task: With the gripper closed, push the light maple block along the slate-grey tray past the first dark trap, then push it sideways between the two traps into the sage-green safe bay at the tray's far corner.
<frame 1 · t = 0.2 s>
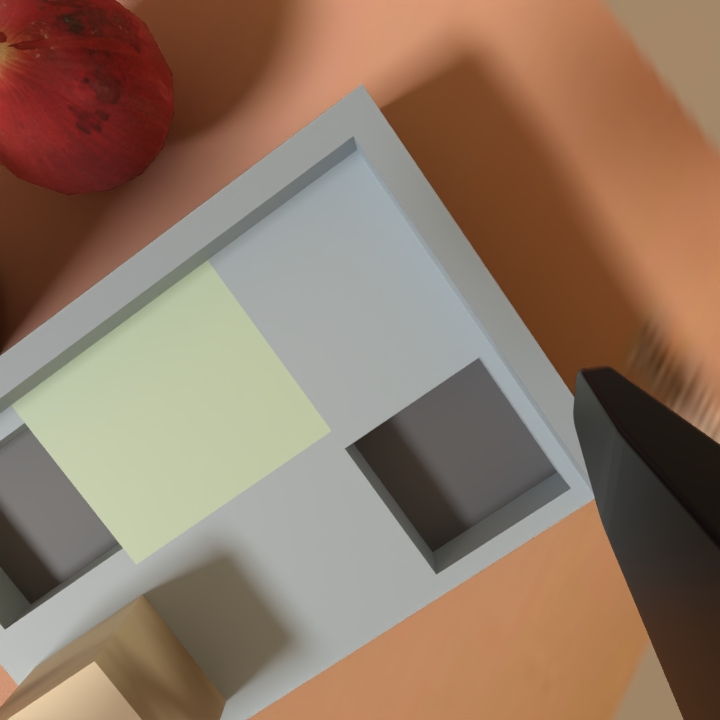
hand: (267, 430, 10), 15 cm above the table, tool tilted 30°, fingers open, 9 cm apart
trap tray: (238, 484, 25), on the table
onion: (121, 118, 24), on the table
maple block: (130, 683, 24), point 2 cm above the table, touching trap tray
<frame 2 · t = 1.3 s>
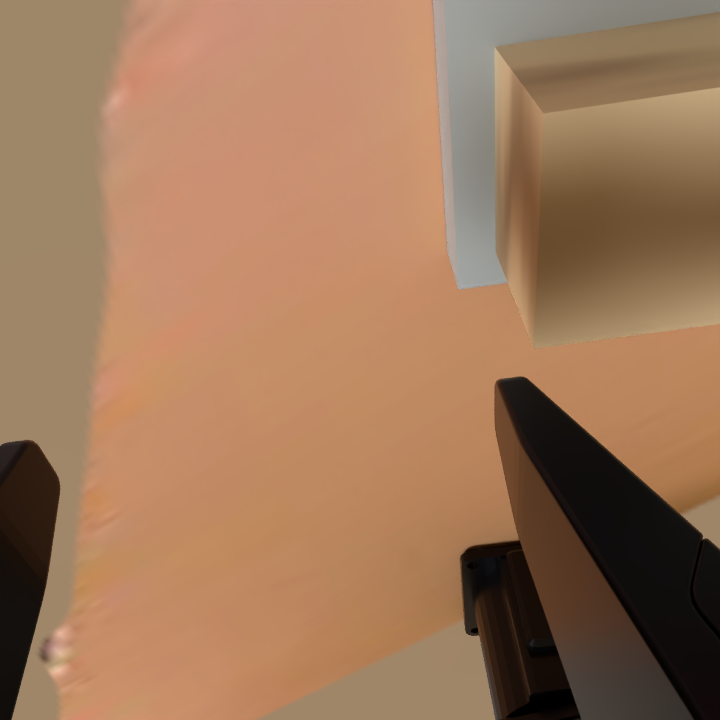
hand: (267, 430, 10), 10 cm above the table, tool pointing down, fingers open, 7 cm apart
maple block: (602, 144, 16), point 2 cm above the table, touching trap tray
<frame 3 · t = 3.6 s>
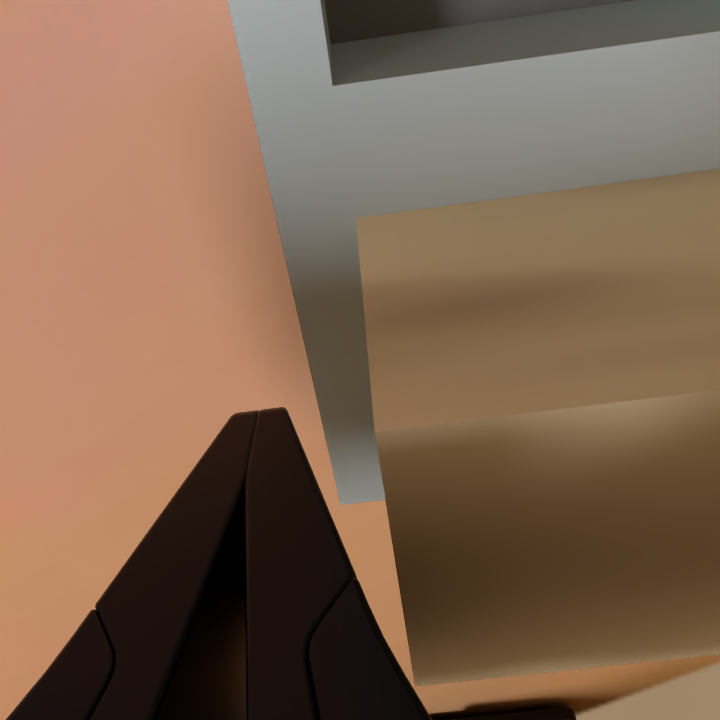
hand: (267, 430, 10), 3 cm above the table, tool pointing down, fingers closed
maple block: (534, 339, 10), point 2 cm above the table, touching gripper
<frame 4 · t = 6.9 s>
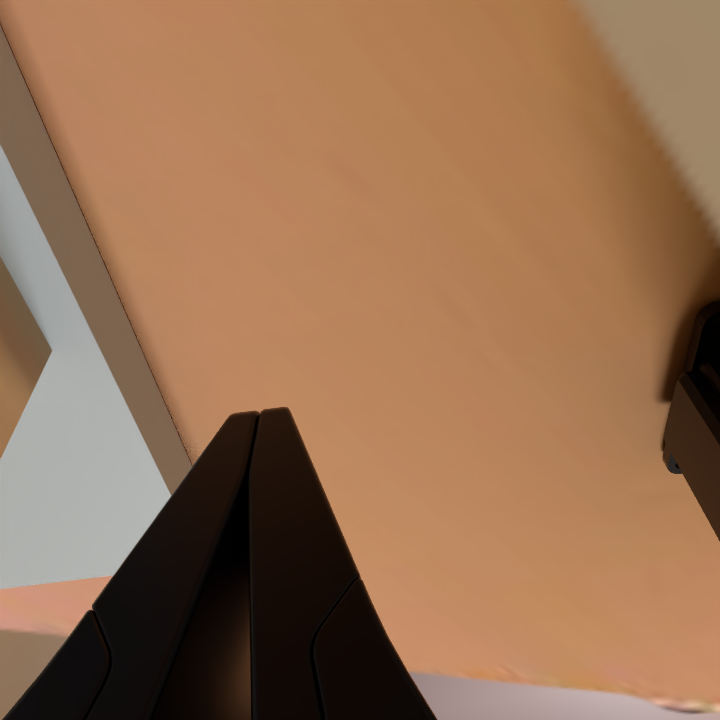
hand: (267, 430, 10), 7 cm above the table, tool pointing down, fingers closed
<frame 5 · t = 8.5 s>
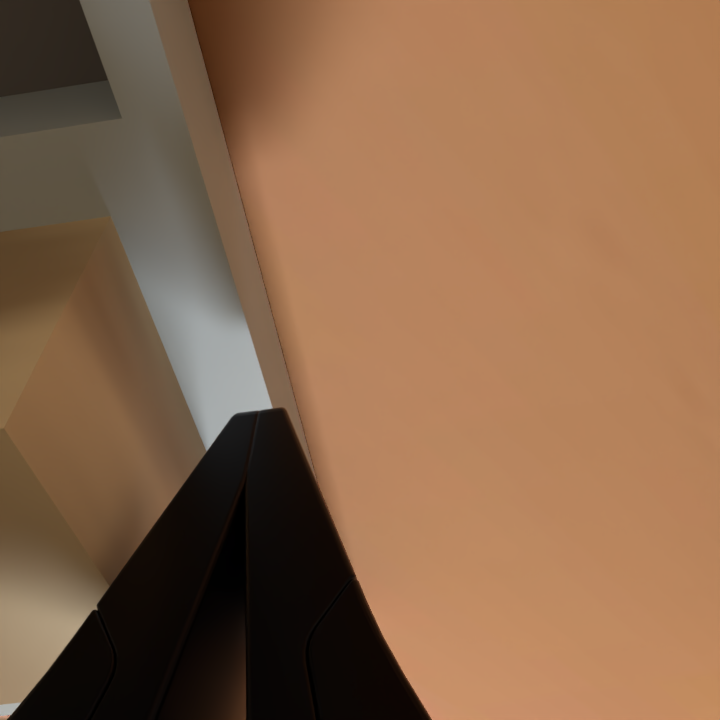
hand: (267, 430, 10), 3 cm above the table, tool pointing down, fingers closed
maple block: (15, 378, 11), point 2 cm above the table, touching gripper, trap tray
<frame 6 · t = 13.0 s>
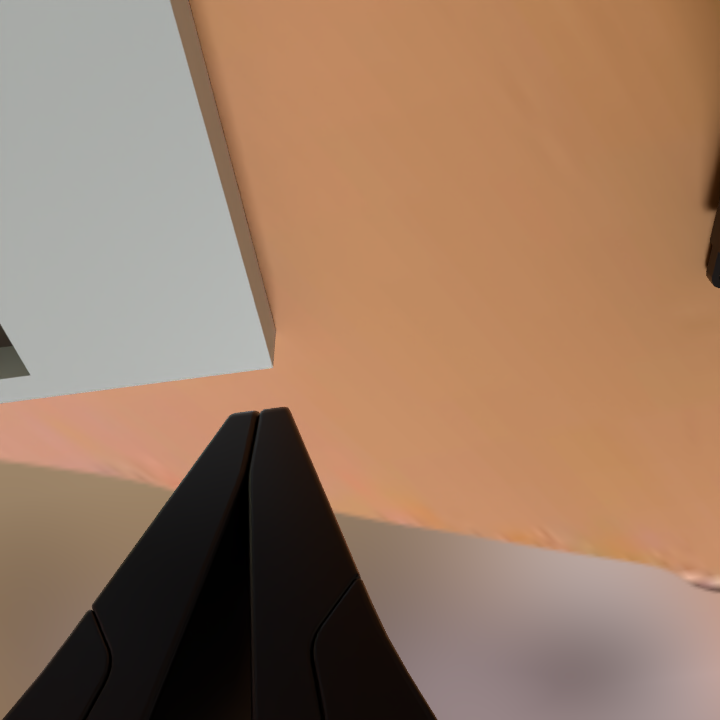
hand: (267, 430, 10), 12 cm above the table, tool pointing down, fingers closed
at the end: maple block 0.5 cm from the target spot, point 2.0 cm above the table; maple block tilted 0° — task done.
